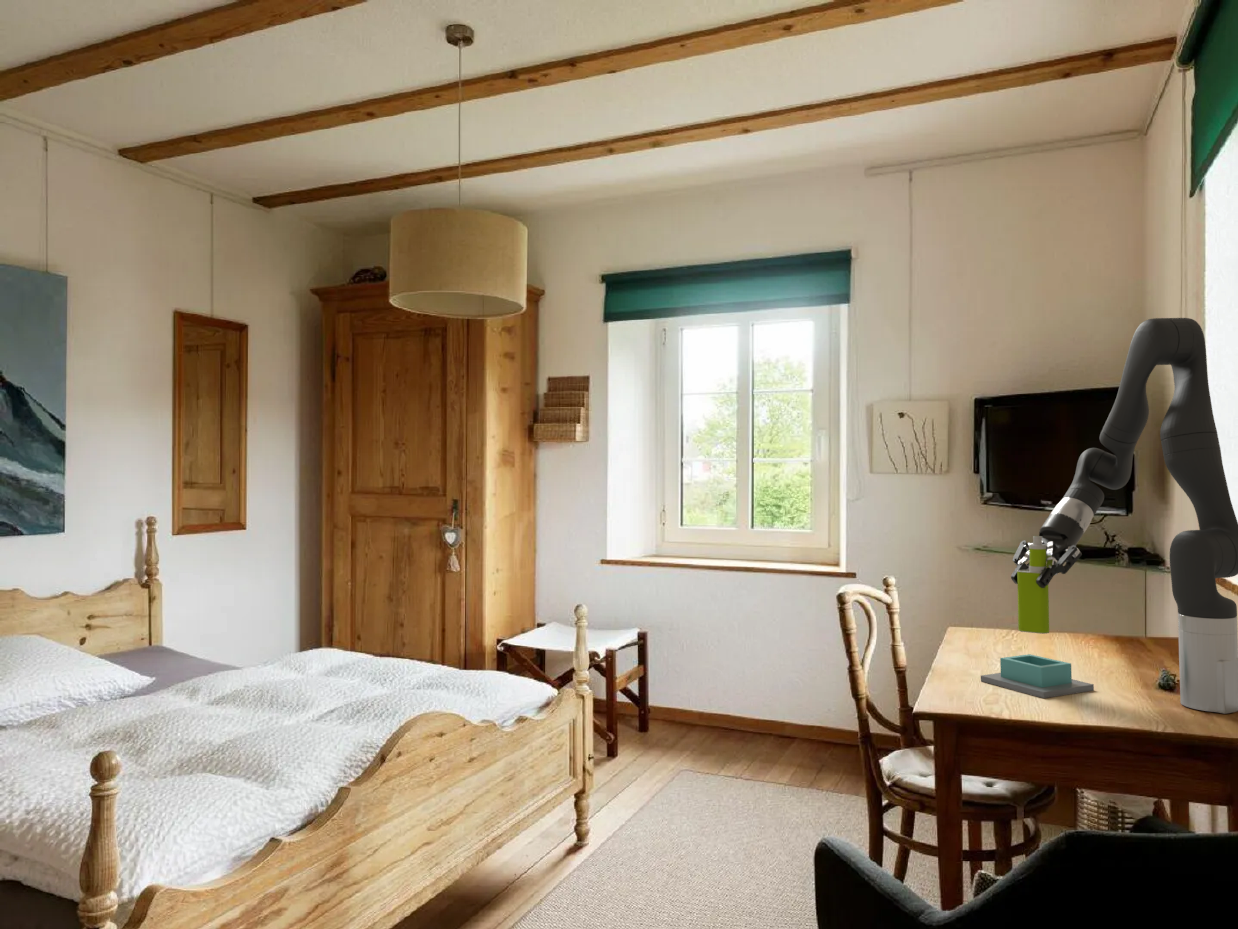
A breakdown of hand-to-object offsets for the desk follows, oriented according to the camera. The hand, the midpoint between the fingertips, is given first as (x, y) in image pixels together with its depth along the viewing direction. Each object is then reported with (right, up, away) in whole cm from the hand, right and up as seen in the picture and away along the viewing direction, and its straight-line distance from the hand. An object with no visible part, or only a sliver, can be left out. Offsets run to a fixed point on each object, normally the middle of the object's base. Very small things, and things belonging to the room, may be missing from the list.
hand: (1027, 583), depth 178 cm
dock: (+2, -22, 0) cm, 22 cm away
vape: (+2, -10, +1) cm, 11 cm away
